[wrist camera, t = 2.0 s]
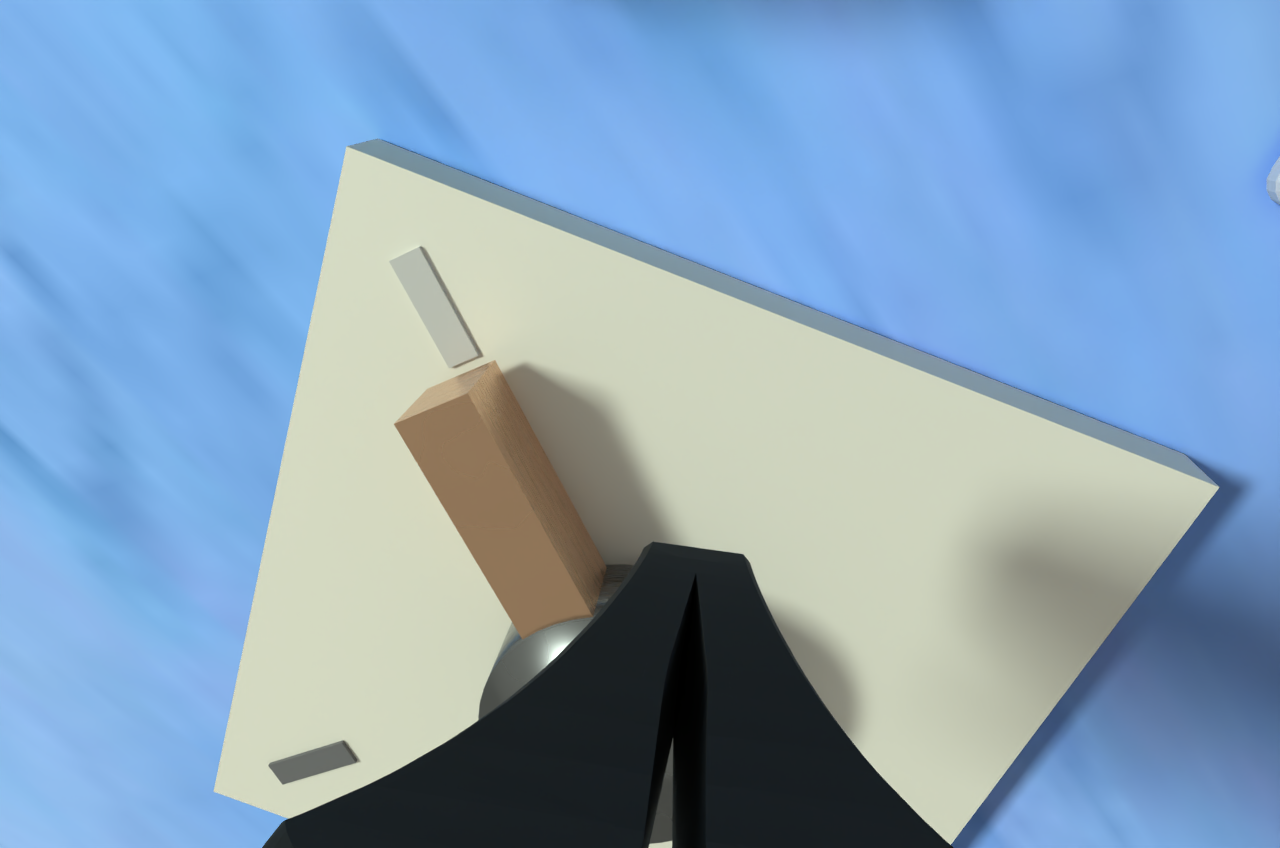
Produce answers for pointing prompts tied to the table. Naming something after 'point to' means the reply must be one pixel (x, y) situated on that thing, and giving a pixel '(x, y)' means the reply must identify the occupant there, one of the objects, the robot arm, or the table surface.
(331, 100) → the table surface
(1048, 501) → the base
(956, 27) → the table surface
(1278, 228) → the table surface
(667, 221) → the table surface
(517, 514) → the twist handle
